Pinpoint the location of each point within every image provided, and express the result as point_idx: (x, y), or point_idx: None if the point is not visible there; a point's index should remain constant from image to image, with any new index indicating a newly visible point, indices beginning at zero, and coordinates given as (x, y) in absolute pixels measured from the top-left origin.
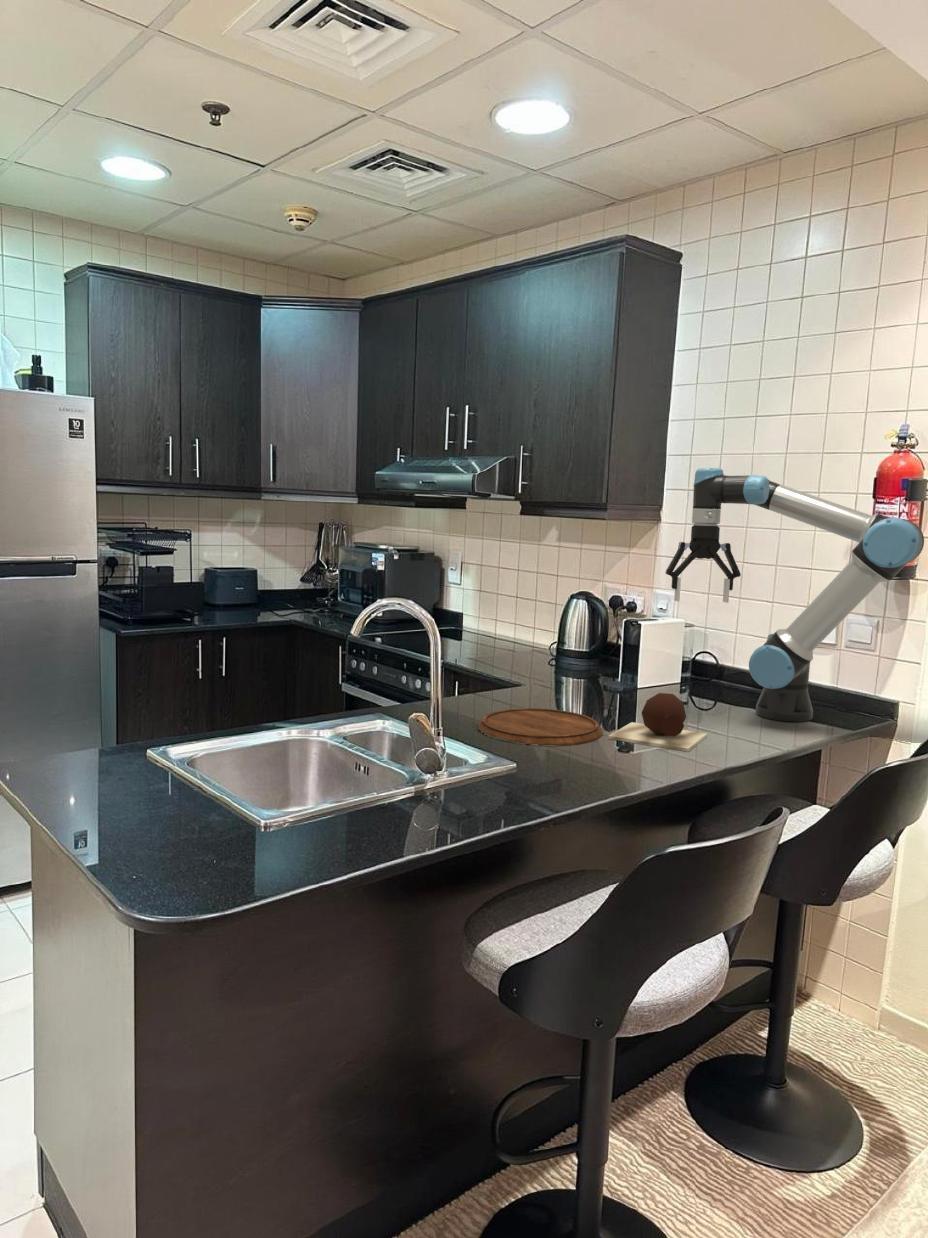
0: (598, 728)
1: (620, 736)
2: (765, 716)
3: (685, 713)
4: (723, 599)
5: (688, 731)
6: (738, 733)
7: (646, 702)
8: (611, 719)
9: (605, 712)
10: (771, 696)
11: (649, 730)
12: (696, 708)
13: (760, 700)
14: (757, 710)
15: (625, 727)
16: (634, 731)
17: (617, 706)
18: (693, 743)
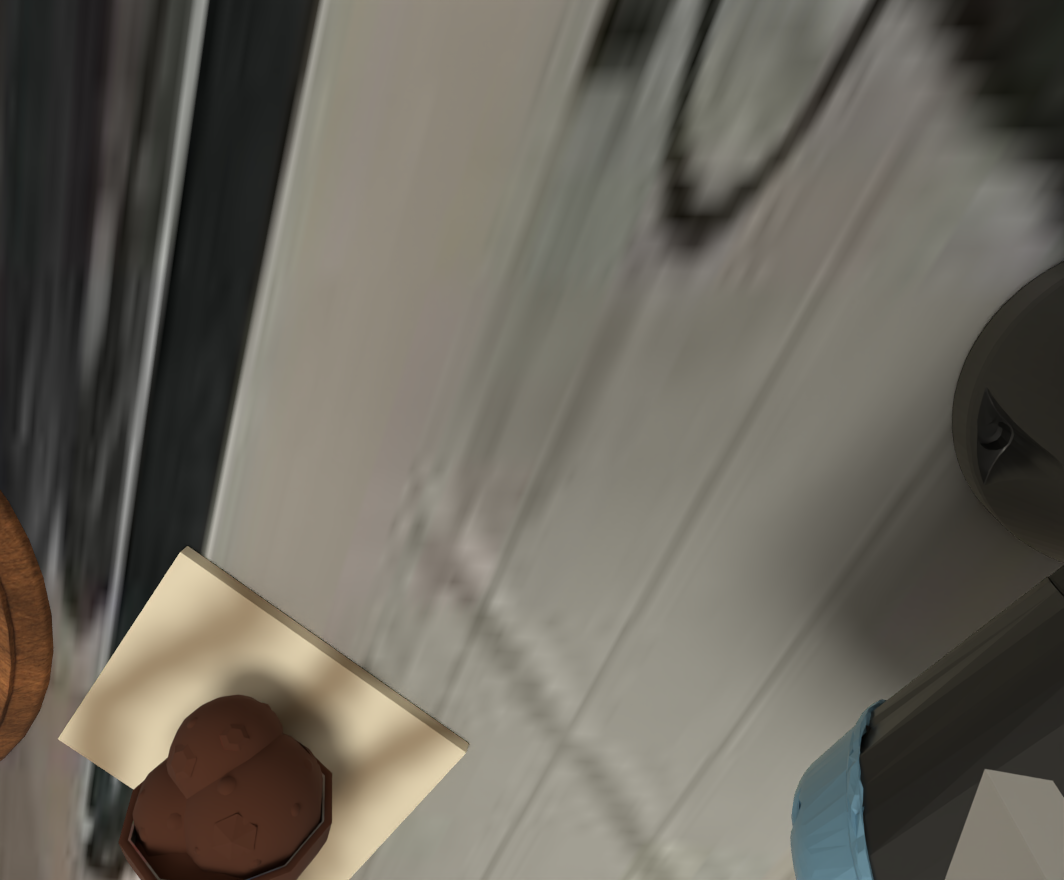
0: (14, 691)
1: (101, 753)
2: (960, 463)
3: (316, 853)
4: (995, 843)
5: (394, 717)
6: (635, 710)
7: (122, 835)
8: (112, 435)
9: (97, 286)
10: (1044, 511)
11: (231, 687)
12: (655, 189)
13: (1007, 411)
14: (967, 390)
15: (139, 634)
16: (166, 695)
17: (180, 132)
18: (356, 864)
